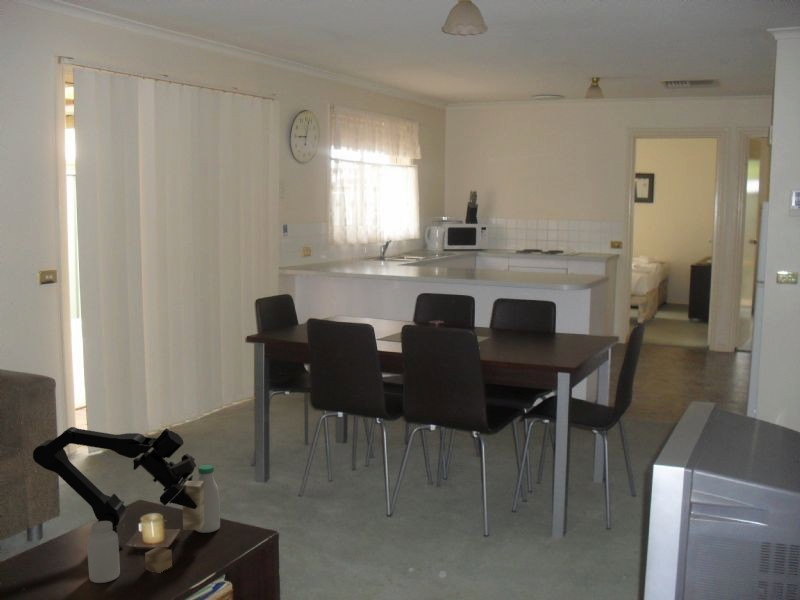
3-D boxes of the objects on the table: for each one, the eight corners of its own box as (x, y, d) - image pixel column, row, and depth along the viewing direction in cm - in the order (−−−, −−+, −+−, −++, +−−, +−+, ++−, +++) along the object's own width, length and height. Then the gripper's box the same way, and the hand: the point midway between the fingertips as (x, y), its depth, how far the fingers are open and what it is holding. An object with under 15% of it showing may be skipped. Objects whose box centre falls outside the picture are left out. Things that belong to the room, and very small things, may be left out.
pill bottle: (95, 570, 223) (93, 518, 221) (124, 570, 222) (122, 518, 221) (83, 583, 215) (81, 530, 213) (113, 584, 214) (111, 530, 213)
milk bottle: (223, 524, 255) (221, 463, 252) (215, 534, 247) (213, 471, 245) (199, 523, 256) (198, 462, 253) (191, 532, 248) (189, 470, 246)
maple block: (183, 529, 233) (182, 486, 232) (187, 523, 238) (186, 480, 237) (200, 529, 233) (199, 486, 232) (204, 523, 238) (203, 480, 237)
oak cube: (145, 570, 223) (145, 553, 222) (159, 563, 227) (158, 546, 227) (159, 574, 220) (158, 556, 220) (172, 567, 225) (171, 550, 224)
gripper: (170, 459, 224) (210, 497, 225) (185, 439, 242) (223, 475, 244) (142, 486, 224) (183, 524, 226) (160, 465, 243) (197, 500, 245)
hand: (198, 504), depth 235 cm, fingers closed on maple block, 5 cm apart
